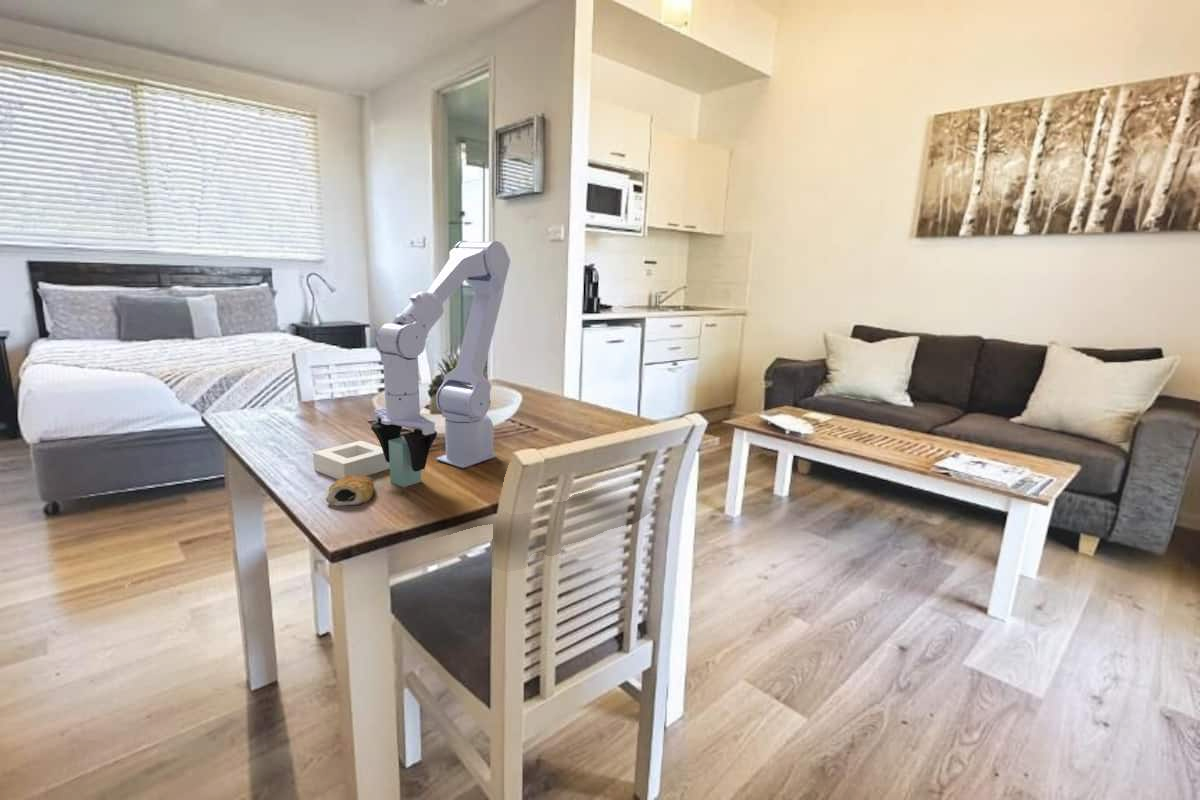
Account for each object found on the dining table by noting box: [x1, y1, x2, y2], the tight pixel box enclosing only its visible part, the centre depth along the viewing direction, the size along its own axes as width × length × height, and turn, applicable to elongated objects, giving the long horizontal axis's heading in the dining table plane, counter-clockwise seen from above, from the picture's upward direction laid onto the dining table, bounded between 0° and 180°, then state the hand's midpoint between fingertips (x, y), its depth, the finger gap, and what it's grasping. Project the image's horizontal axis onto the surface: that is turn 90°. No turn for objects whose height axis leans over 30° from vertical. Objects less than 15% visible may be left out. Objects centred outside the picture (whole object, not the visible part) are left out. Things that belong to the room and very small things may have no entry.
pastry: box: [325, 475, 375, 507], centre depth 97 cm, size 9×7×4 cm
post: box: [388, 435, 422, 488], centre depth 103 cm, size 4×4×8 cm
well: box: [312, 440, 390, 480], centre depth 109 cm, size 10×10×4 cm
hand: (405, 465), depth 103 cm, fingers open, 7 cm apart
